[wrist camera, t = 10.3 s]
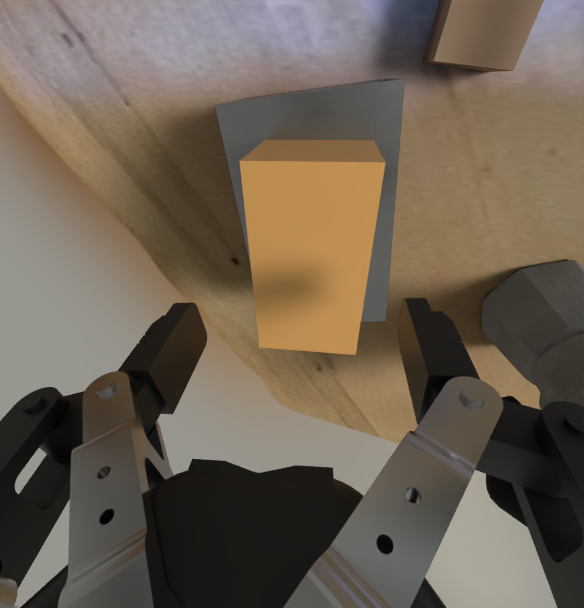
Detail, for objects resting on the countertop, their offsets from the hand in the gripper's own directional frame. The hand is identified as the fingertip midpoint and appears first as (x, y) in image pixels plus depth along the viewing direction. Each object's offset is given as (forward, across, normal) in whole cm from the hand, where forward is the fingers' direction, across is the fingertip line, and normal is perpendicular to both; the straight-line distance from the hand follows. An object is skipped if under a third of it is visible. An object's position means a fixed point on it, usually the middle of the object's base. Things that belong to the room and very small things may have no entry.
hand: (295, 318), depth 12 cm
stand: (+14, 0, 0) cm, 14 cm away
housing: (+8, 0, 0) cm, 8 cm away
